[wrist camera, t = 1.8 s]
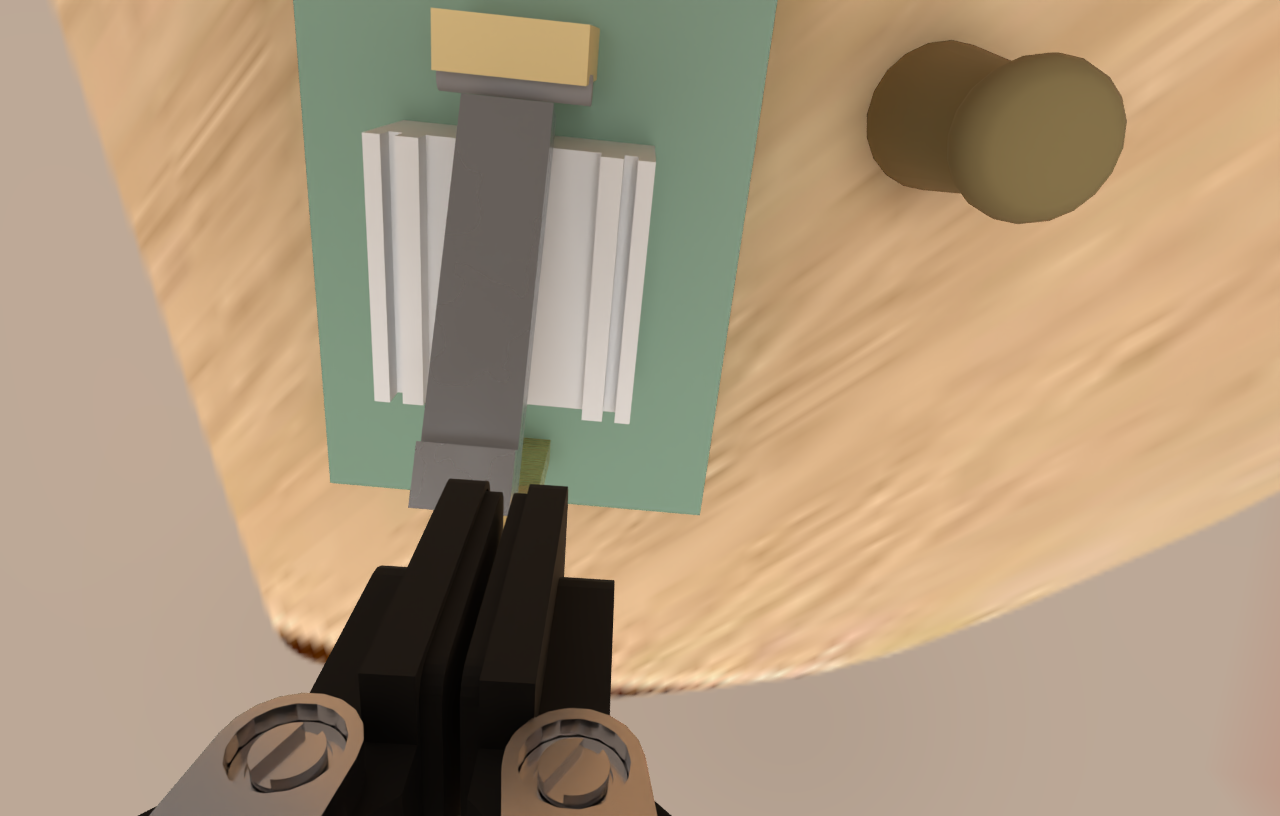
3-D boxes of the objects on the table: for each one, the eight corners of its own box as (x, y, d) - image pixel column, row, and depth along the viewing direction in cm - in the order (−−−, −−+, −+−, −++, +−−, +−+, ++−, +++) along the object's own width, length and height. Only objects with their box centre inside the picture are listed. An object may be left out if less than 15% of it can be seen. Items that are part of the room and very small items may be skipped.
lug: (486, 418, 37) (455, 490, 31) (551, 424, 37) (533, 497, 31) (486, 456, 37) (456, 533, 31) (549, 462, 37) (530, 539, 32)
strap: (467, 110, 27) (457, 84, 25) (556, 119, 27) (552, 93, 25) (422, 505, 25) (408, 507, 24) (515, 513, 25) (508, 516, 24)
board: (317, -86, 31) (207, -131, 23) (772, -36, 31) (812, -63, 24) (351, 453, 41) (282, 548, 33) (696, 484, 41) (707, 584, 34)
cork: (856, 186, 35) (939, 242, 25) (879, 36, 32) (982, 31, 22) (991, 192, 35) (1128, 250, 25) (1024, 43, 33) (1191, 41, 23)
